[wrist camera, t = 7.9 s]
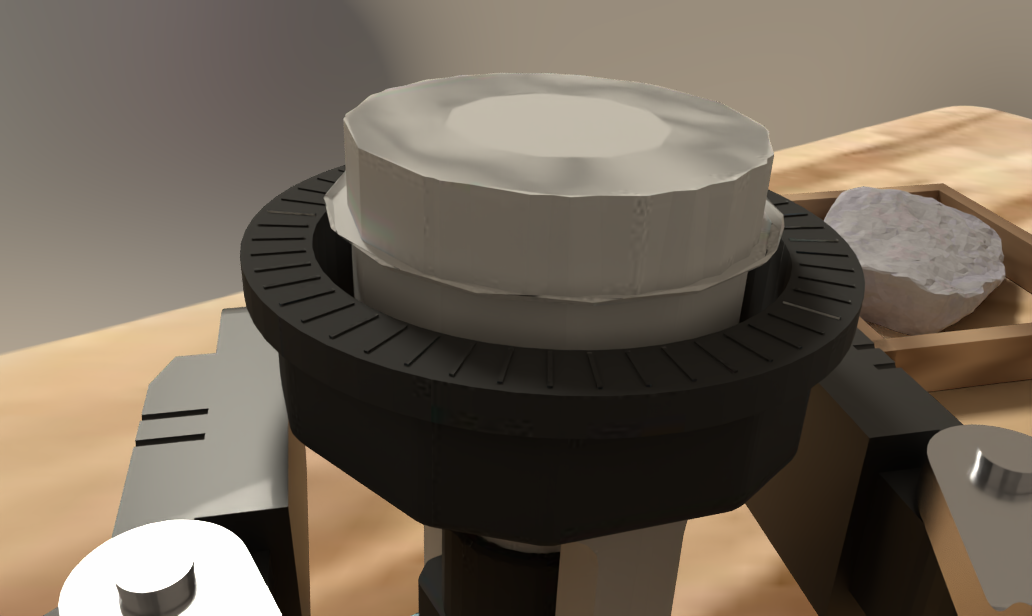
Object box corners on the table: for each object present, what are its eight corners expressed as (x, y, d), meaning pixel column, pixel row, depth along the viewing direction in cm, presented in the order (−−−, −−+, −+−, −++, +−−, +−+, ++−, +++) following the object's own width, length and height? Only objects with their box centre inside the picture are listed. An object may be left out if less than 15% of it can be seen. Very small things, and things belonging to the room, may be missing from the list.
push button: (889, 1049, 11) (1240, 241, 6) (477, 1397, 8) (534, 474, 4) (569, 645, 16) (626, 40, 11) (255, 784, 13) (160, 77, 9)
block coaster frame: (865, 399, 42) (877, 352, 41) (706, 237, 57) (711, 199, 56) (1158, 363, 45) (1176, 318, 44) (933, 219, 61) (943, 183, 59)
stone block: (984, 295, 56) (826, 228, 59) (1024, 227, 53) (856, 162, 56) (953, 394, 47) (770, 310, 50) (999, 320, 44) (801, 236, 47)
